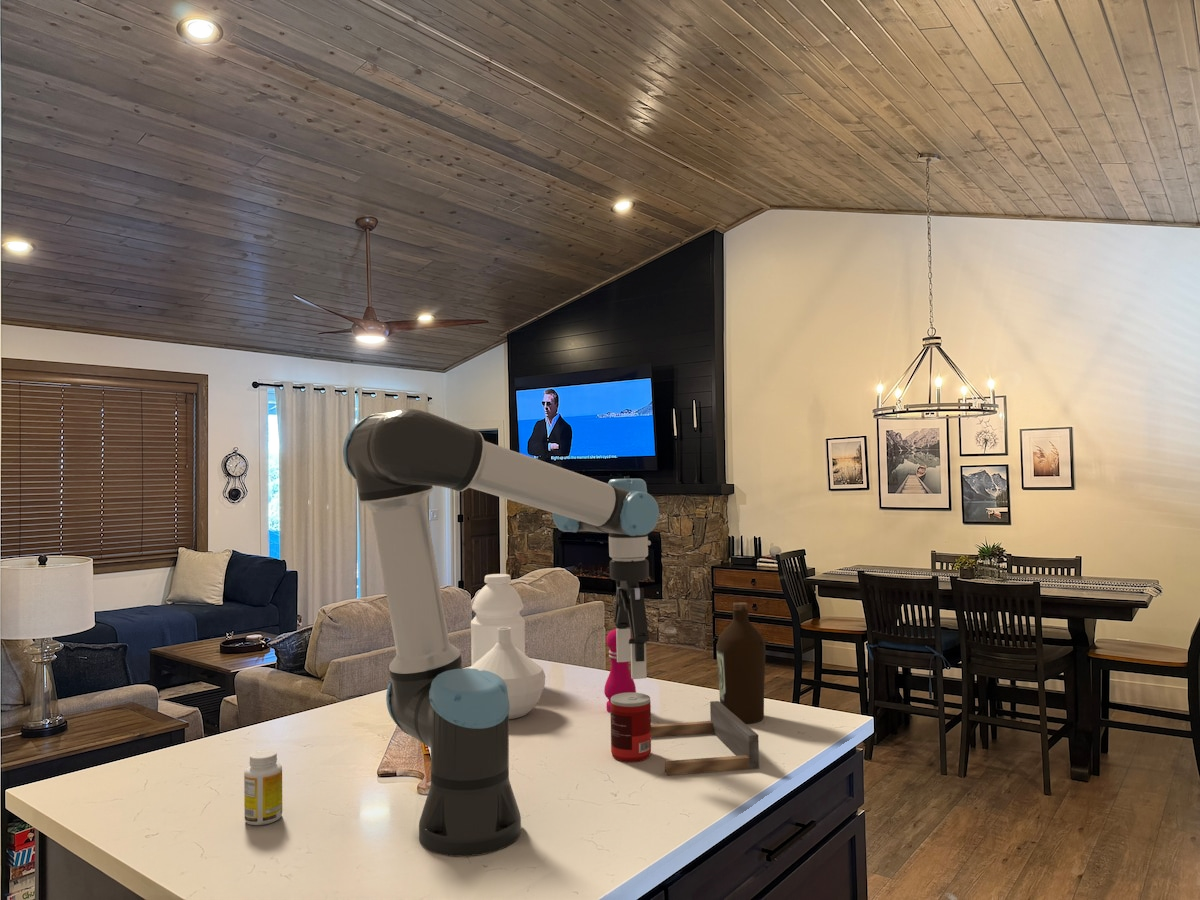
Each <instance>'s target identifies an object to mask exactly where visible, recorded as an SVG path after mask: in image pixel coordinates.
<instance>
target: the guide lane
mask: <svg viewBox="0 0 1200 900" xmlns="http://www.w3.org/2000/svg"><path fill="white" fill-rule="evenodd" d="M709 702H710V703H709V706H710V709H709V712H710V718H709V719H710V720H704V721H700V720H699V721H689V722H688V721H686V722H673V723H671V722H670V723H659V724H658V723H657V724H656V723H655V724H651V738H653V737H671V736H681V735H683V736H686V735H697V734H714V735H715V737H717V738H718V740H720V741H721V743H723V744H724V746H726V747H727V748H728V749H729V750H730V751H731V752H732V753H733V754H734V755H731V756H730V755H729V756H727V755H726V756H715V757H705V758H704V757H703V758H689V759H686V758H685V759H678V760H677V759H673V760H664V774H665V775H666V776H673V775H674V776H675V775H687V774H702V773H703V774H704V773H711V772H715V773H716V772H726V771H727V772H729V771H738V770H739V771H740V770H753V769H759V768H760V762H759V761H760V754H759V753H760V751H759V747H760V746H759V742H760V741H759V734H758V733H757V732H755V730H753V729H752V728H751V727H750V726H749V725H748V724H747V723H744V722H743V721H741V720H740V719H739V718H738V717H737V716H736V715H734V714H733V713H732V712H731V711H730V710H728V709H727V708H726V707H725V706H724V705H723V704H721V703H720V700H714V701H709Z"/></svg>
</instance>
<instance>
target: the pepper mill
mask: <svg viewBox="0 0 1200 900" xmlns="http://www.w3.org/2000/svg"><path fill="white" fill-rule="evenodd" d="M616 629H618V628H613V629H612V630H610V631H609V632H608V634H607V635H606V645H607V647H608V648H609V650H608V657H609V658H610V670H609V674H608V676H607V679H606V682H605V684H604V688H603V689H604V690H603V691H604V692H603V694H604V696H605V697H606V698H607V700H608V701H606V712H608V713H610V714H611V711H610V706H611V702H610V701H611V697H612V696H614V695H616V694H620V693H628V692H634V693H637V689H636V683H635V681H634V679H632V678H631V671H630V670H631V669H630V666H629V665H630V664H629V662H617V640H616ZM630 639H632V636H631V632H630Z"/></svg>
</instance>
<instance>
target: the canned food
mask: <svg viewBox="0 0 1200 900" xmlns="http://www.w3.org/2000/svg"><path fill="white" fill-rule="evenodd" d="M610 702H611V706H610V711H611V713H610V752H611V755H612V758H614V759H615V760H617V761H619V762H624V763H637V762H638V763H639V762H642V761H645V760H648V758H649V757H650V756H651V753H652V737H651V725H652V719H651V718H652V705H651V696H650V695H648V694H646V693H642V692H636V693H634V692H628V693H620V694H616V695H614V696H612V697H611V701H610Z"/></svg>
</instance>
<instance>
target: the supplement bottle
mask: <svg viewBox="0 0 1200 900" xmlns="http://www.w3.org/2000/svg"><path fill="white" fill-rule="evenodd" d="M277 756H278V753H277V751H276V750H272V749H266V750H265V749H263V750H258V751H255V752H253V753H251V754H250V755H249V766H248V767H246V768H245V770H244V772H243V773H244V775H243V777H244V779H243V781H244V782H243V783H244V786H243V787H244V788H243V789H244V791H243V794H244V797H243V798H244V821H245V822H246V823H247V824H248V825H250V826H251V825H252V826H265V825H269V824H272V823H274V822H276V821H278V820H279V819H280V818H281V817H282V815H283V766H282V764H281V763H280V762H278V758H277Z"/></svg>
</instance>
